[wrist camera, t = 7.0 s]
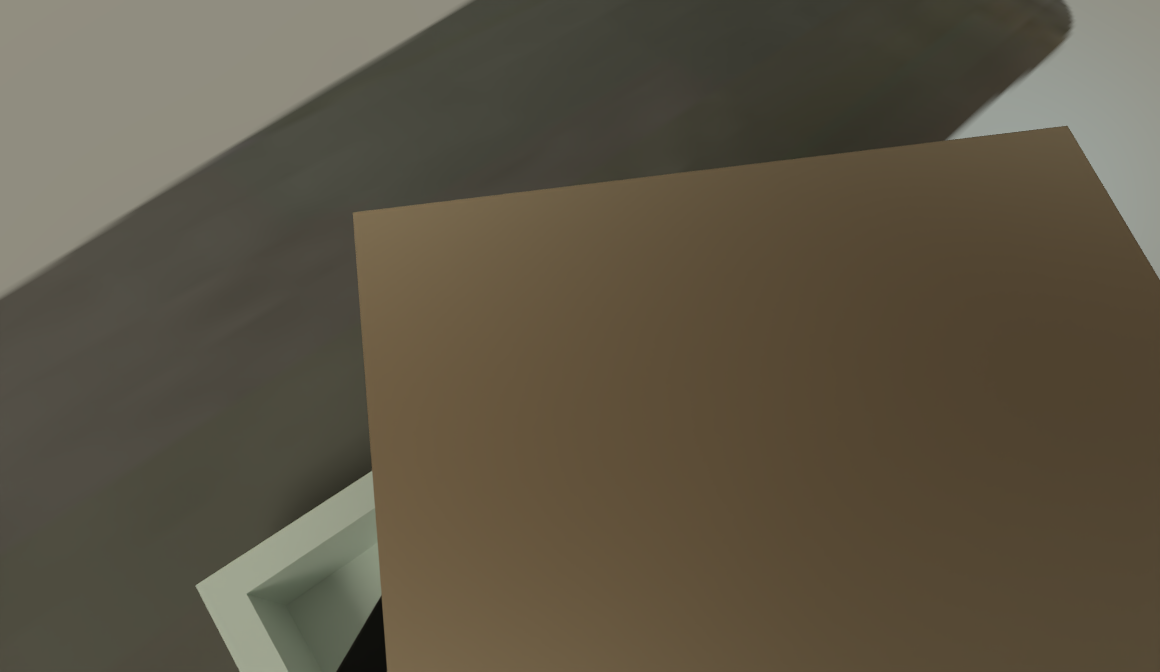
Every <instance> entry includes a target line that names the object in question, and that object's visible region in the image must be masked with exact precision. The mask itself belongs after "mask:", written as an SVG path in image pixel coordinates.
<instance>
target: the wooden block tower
mask: <svg viewBox="0 0 1160 672" xmlns="http://www.w3.org/2000/svg"><path fill="white" fill-rule="evenodd" d="M353 221H354V235H355V248H356V261H357V275H358V288H359V301H360V315H361V328H362V341H363V355H364V368H365V381H366V394H367V408H368V421H369V434H370V448H371V461H372V474H373V488H374V501H375V514H376V528H377V541H378V554H379V568H380V581H381V594H382V608H383V621H384V634H385V648H386V661H387V672H1160V280H1159V278H1158V276H1157V275H1156V273H1155V271H1154V270H1153V268H1152V266H1151V265H1150V263H1149V261H1148V260H1147V258H1146V256H1145V255H1144V253H1143V251H1142V250H1141V248H1140V246H1139V245H1138V243H1137V241H1136V240H1135V238H1134V237H1133V235H1132V233H1131V231H1130V230H1129V228H1128V226H1127V225H1126V223H1125V221H1124V220H1123V218H1122V216H1121V215H1120V213H1119V211H1118V210H1117V208H1116V206H1115V205H1114V203H1113V201H1112V199H1111V198H1110V196H1109V194H1108V193H1107V191H1106V189H1105V188H1104V186H1103V184H1102V183H1101V181H1100V180H1099V178H1098V176H1097V175H1096V173H1095V171H1094V170H1093V168H1092V166H1091V164H1090V163H1089V161H1088V159H1087V158H1086V156H1085V154H1084V153H1083V151H1082V149H1081V148H1080V146H1079V145H1078V143H1077V141H1076V140H1075V138H1074V136H1073V134H1072V133H1071V131H1070V129H1069V128H1068V126H1062V127H1054V128H1046V129H1037V130H1029V131H1021V132H1013V133H1005V134H996V135H988V136H980V137H972V138H964V139H955V140H947V141H938V142H930V143H922V144H914V145H905V146H897V147H889V148H881V149H873V150H864V151H856V152H848V153H840V154H831V155H823V156H815V157H807V158H798V159H790V160H782V161H774V162H765V163H757V164H749V165H741V166H732V167H724V168H716V169H708V170H700V171H691V172H683V173H675V174H667V175H658V176H650V177H642V178H634V179H625V180H617V181H609V182H601V183H592V184H584V185H576V186H568V187H559V188H551V189H543V190H535V191H527V192H518V193H510V194H502V195H494V196H485V197H477V198H469V199H461V200H452V201H444V202H436V203H428V204H419V205H411V206H403V207H395V208H386V209H378V210H370V211H362V212H354V213H353Z"/></svg>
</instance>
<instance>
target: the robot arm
mask: <svg viewBox="0 0 1160 672" xmlns="http://www.w3.org/2000/svg"><path fill="white" fill-rule="evenodd" d="M336 672H387V661H386V648H385V634H384V621H383V608H382V595H381V597H380V598H379V600H378V602H377V603H376V605H375V607H374V608H373V610H372V612H371V613H370V615H369V617H368V619H367V620H366V622H365V624H364V625H363V627H362V629H361V630H360V632H359V634H358V635H357V637H356V639H355V640H354V642H353V644H352V646H351V647H350V649H349V651H348V652H347V654H346V656H345V657H344V659H343V661H342V662H341V664H340V666H339V667H338V669H337V671H336Z"/></svg>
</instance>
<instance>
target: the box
mask: <svg viewBox="0 0 1160 672" xmlns="http://www.w3.org/2000/svg"><path fill="white" fill-rule="evenodd" d="M196 588H197V590H198V591H199V593H200V595H201V597H202V599H203V601H204V603H205V605H206V607H207V609H208V611H209V613H210V615H211V617H212V619H213V620H214V622H215V624H216V626H217V628H218V630H219V632H220V634H221V636H222V638H223V640H224V642H225V644H226V646H227V648H228V649H229V651H230V653H231V655H232V657H233V659H234V661H235V663H236V665H237V667H238V669H239V671H240V672H336V671H337V669H338V667H339V666H340V664H341V662H342V661H343V659H344V657H345V656H346V654H347V652H348V651H349V649H350V647H351V646H352V644H353V642H354V640H355V639H356V637H357V635H358V634H359V632H360V630H361V629H362V627H363V625H364V624H365V622H366V620H367V619H368V617H369V615H370V613H371V612H372V610H373V608H374V607H375V605H376V603H377V602H378V600H379V598H380V597H381V595H382V594H381V581H380V568H379V554H378V541H377V528H376V514H375V501H374V488H373V474H372V471H371V472H370V473H368V474H366V475H365V476H363V477H362V478H360V479H359V480H357V481H356V482H354V483H353V484H351V485H350V486H348V487H346V488H345V489H343V490H342V491H340V492H339V493H337V494H336V495H334V496H333V497H331V498H330V499H328V500H326V501H325V502H323V503H322V504H320V505H319V506H317V507H316V508H314V509H313V510H311V511H310V512H308V513H306V514H305V515H303V516H302V517H300V518H299V519H297V520H296V521H294V522H293V523H291V524H289V525H288V526H286V527H285V528H283V529H282V530H280V531H279V532H277V533H276V534H274V535H273V536H271V537H269V538H268V539H266V540H265V541H263V542H262V543H260V544H259V545H257V546H256V547H254V548H253V549H251V550H249V551H248V552H246V553H245V554H243V555H242V556H240V557H239V558H237V559H236V560H234V561H233V562H231V563H229V564H228V565H226V566H225V567H223V568H222V569H220V570H219V571H217V572H216V573H214V574H213V575H211V576H209V577H208V578H206V579H205V580H203V581H202V582H200V583H199V584H197V585H196Z"/></svg>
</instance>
